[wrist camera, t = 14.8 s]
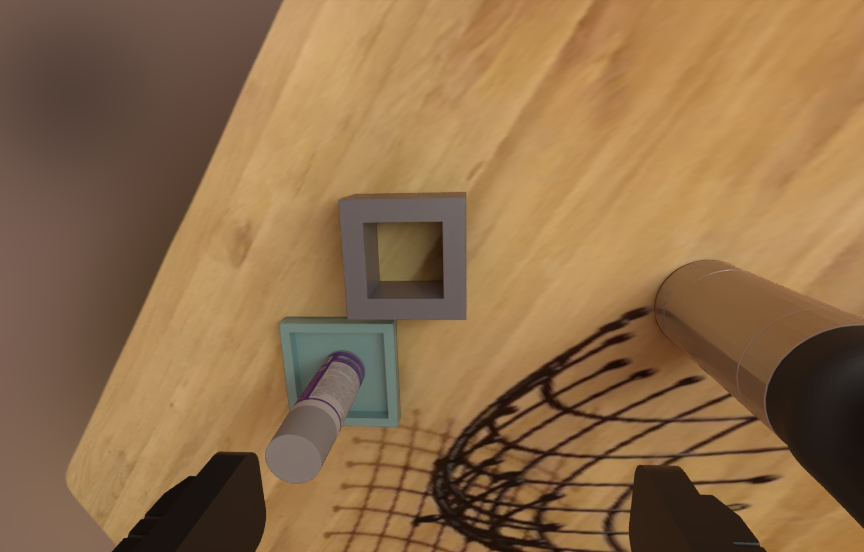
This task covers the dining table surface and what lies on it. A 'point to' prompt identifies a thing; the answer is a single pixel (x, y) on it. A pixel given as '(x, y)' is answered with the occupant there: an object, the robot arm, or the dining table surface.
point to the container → (315, 419)
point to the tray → (365, 338)
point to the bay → (402, 297)
